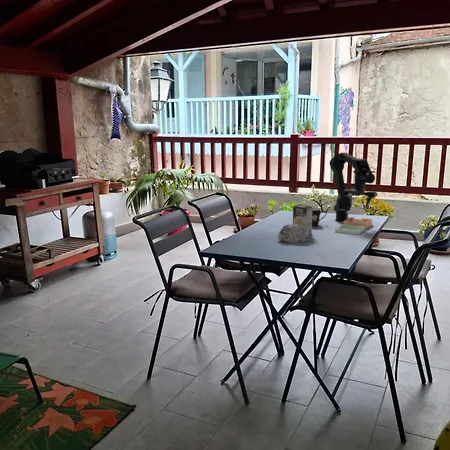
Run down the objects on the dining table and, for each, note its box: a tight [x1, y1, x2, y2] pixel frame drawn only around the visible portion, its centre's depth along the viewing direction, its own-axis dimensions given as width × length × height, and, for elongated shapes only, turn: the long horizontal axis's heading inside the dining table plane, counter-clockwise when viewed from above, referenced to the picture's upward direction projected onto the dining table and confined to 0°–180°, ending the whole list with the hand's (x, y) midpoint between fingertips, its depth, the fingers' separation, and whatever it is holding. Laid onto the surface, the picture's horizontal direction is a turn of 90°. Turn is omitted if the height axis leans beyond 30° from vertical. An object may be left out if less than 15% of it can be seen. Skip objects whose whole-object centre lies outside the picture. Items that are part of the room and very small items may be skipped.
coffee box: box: [292, 204, 313, 238], centre depth 253 cm, size 9×6×16 cm
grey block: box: [353, 217, 363, 223], centre depth 269 cm, size 4×4×4 cm
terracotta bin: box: [343, 216, 373, 230], centre depth 269 cm, size 13×12×4 cm
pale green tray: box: [334, 223, 366, 235], centre depth 258 cm, size 13×12×2 cm
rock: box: [277, 223, 308, 244], centre depth 241 cm, size 16×8×10 cm, turn 61°
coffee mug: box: [312, 207, 327, 228], centre depth 274 cm, size 12×9×10 cm
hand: (358, 208), depth 268 cm, fingers open, 9 cm apart
